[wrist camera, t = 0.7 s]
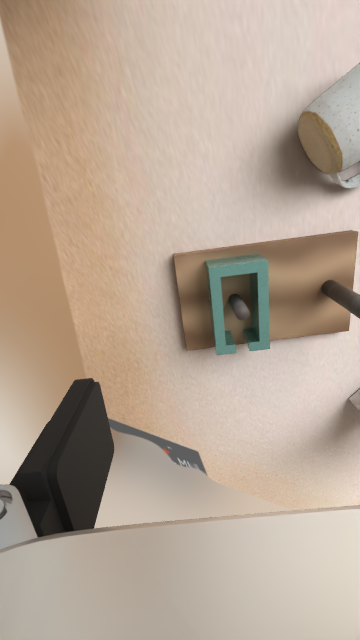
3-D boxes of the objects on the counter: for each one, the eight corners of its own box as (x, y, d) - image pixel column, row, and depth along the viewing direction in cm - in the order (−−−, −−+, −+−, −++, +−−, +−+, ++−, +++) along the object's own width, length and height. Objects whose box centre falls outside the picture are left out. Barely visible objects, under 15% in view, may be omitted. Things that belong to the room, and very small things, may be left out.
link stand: (173, 253, 38) (172, 294, 23) (351, 230, 37) (472, 256, 22) (186, 345, 43) (192, 428, 28) (343, 326, 42) (437, 401, 27)
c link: (205, 260, 37) (208, 267, 33) (258, 253, 37) (268, 260, 33) (213, 340, 41) (216, 355, 38) (261, 334, 41) (269, 348, 37)
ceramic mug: (283, 122, 33) (313, 105, 26) (353, 64, 31) (406, 29, 24) (328, 204, 36) (365, 209, 29) (393, 157, 35) (449, 149, 28)
